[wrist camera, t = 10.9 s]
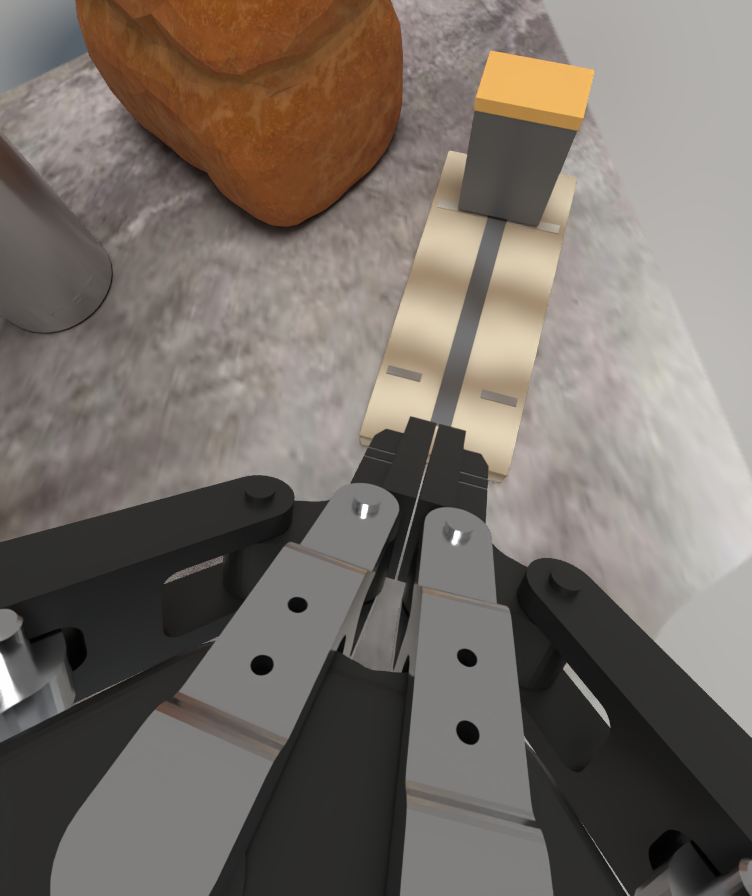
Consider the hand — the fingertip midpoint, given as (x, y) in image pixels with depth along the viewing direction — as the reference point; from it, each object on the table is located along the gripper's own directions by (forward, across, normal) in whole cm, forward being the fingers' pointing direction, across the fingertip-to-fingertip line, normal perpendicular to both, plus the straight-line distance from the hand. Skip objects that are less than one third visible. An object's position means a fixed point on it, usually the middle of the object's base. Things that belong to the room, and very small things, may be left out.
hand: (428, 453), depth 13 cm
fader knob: (+31, 0, -5) cm, 31 cm away
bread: (+37, +21, -6) cm, 43 cm away
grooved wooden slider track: (+27, 0, +3) cm, 27 cm away
